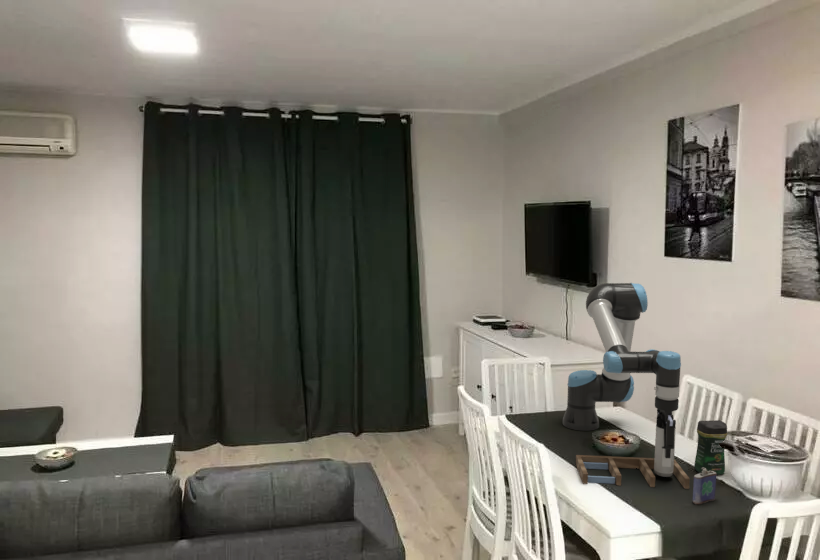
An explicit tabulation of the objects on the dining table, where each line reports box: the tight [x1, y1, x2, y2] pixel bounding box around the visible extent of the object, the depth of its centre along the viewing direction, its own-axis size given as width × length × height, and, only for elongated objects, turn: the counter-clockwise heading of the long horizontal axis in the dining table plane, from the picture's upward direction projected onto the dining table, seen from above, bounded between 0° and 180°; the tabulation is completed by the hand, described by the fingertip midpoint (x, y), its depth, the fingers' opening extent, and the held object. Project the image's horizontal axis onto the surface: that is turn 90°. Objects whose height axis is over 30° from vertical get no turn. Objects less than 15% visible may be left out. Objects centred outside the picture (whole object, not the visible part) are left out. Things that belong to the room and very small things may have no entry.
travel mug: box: [653, 416, 677, 478], centre depth 229 cm, size 6×7×20 cm
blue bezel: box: [583, 462, 616, 485], centre depth 232 cm, size 14×9×2 cm, turn 174°
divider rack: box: [575, 454, 691, 490], centre depth 232 cm, size 18×34×4 cm, turn 84°
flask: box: [692, 467, 718, 505], centre depth 212 cm, size 9×3×11 cm, turn 117°
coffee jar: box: [694, 419, 728, 476], centre depth 235 cm, size 10×8×19 cm
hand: (663, 462), depth 230 cm, fingers closed on travel mug, 6 cm apart
